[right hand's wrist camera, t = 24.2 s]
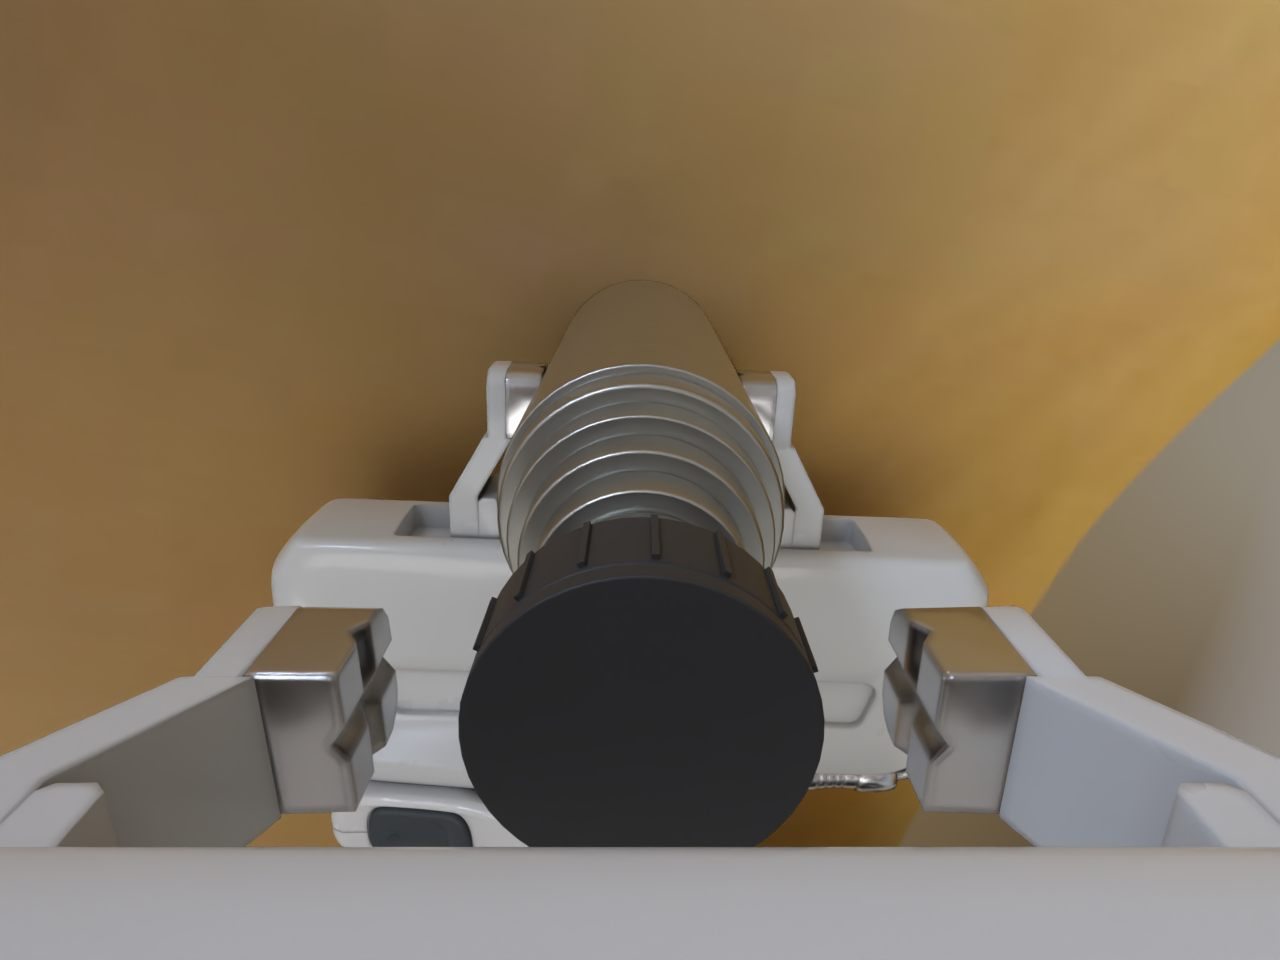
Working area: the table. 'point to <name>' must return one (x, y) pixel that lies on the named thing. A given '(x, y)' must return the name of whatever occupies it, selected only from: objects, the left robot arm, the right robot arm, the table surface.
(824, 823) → the table surface
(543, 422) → the bottle
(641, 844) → the cap
